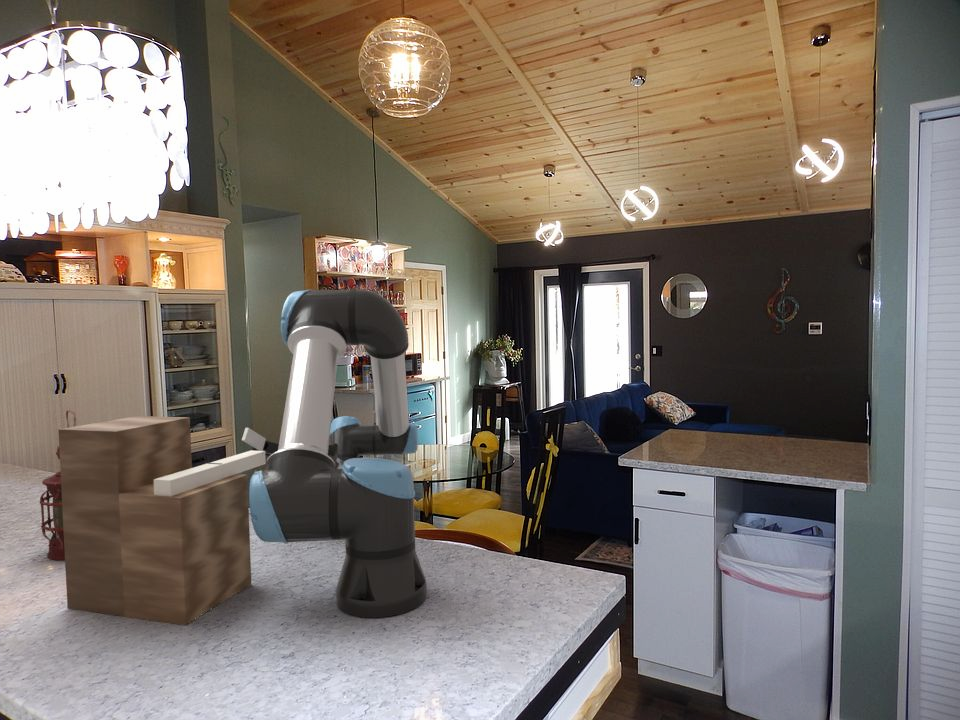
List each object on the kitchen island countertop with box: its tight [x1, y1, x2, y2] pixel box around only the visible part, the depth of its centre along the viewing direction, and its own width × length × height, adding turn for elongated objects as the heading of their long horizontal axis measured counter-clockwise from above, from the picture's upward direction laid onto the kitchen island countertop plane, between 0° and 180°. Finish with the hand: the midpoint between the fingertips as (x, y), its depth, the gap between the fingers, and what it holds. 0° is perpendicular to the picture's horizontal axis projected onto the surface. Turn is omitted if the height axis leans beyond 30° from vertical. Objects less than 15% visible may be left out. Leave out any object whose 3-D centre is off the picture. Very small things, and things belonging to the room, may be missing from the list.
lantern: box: [39, 409, 77, 561], centre depth 130 cm, size 12×12×30 cm
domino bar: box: [154, 449, 267, 496], centre depth 109 cm, size 24×3×3 cm, turn 163°
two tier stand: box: [57, 415, 252, 626], centre depth 107 cm, size 16×24×30 cm, turn 73°
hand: (273, 434), depth 125 cm, fingers open, 13 cm apart
